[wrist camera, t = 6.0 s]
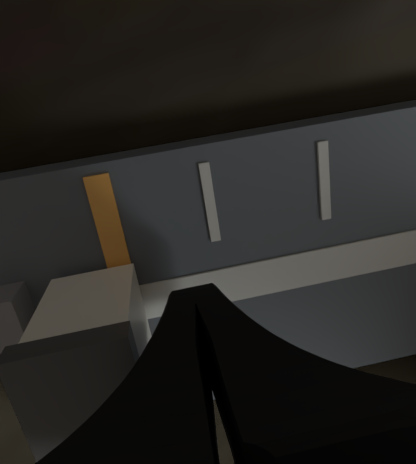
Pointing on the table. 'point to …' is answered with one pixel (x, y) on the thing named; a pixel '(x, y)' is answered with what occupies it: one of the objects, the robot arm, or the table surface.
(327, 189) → the console
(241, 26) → the table surface
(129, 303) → the fader tab
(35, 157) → the table surface
